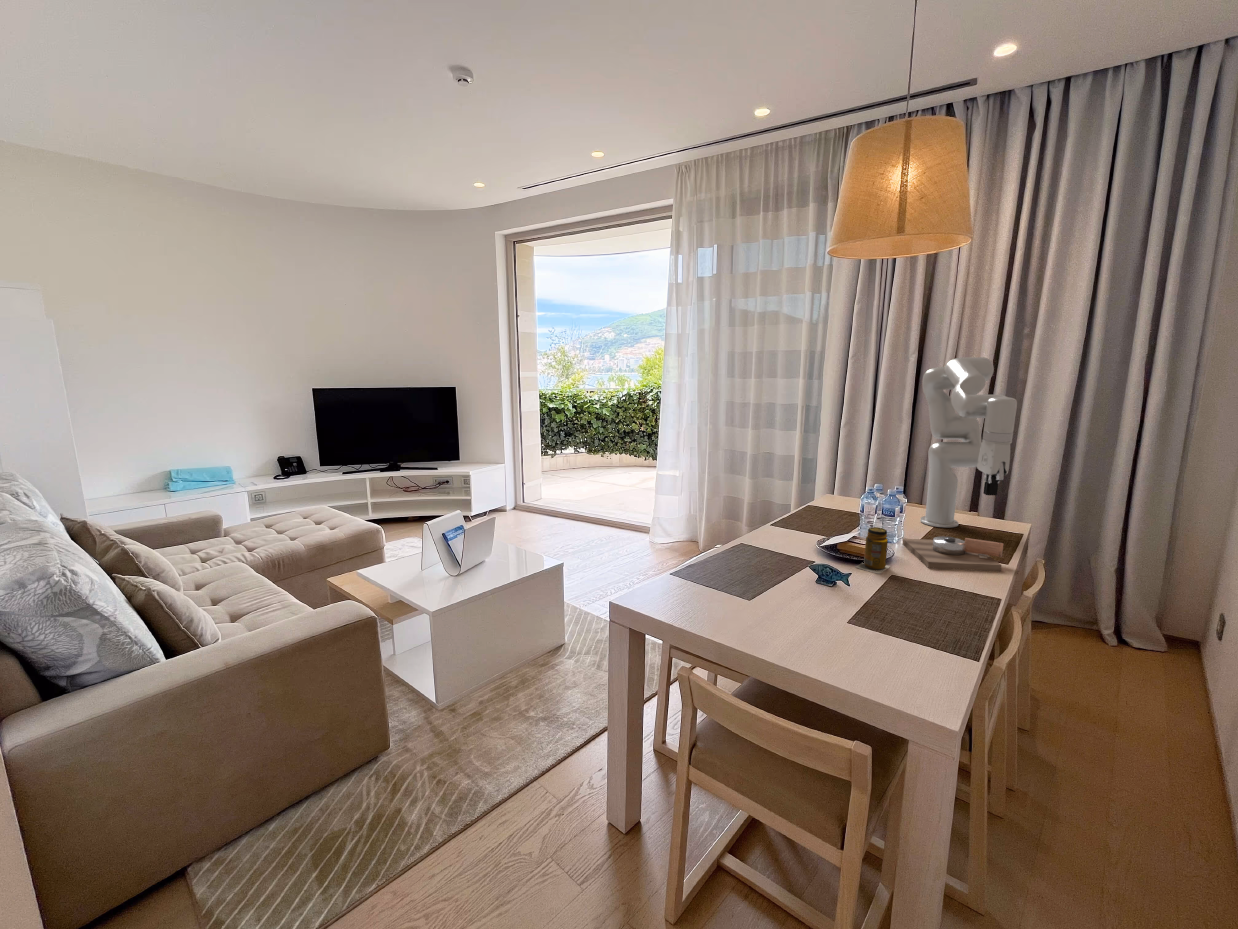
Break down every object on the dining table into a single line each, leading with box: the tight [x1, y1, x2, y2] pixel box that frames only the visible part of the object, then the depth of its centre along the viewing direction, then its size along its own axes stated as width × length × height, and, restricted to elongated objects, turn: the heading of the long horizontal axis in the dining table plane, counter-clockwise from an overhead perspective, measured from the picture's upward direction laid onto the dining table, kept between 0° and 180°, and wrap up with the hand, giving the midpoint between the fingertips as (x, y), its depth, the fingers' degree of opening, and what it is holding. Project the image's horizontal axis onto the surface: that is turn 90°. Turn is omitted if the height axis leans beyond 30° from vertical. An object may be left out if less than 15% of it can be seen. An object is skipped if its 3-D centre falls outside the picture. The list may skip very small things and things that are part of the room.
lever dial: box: [932, 536, 1004, 558], centre depth 167 cm, size 18×9×4 cm, turn 56°
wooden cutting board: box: [902, 538, 1003, 572], centre depth 170 cm, size 22×20×2 cm
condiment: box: [855, 526, 891, 575], centre depth 162 cm, size 7×8×12 cm
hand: (990, 494), depth 168 cm, fingers closed
